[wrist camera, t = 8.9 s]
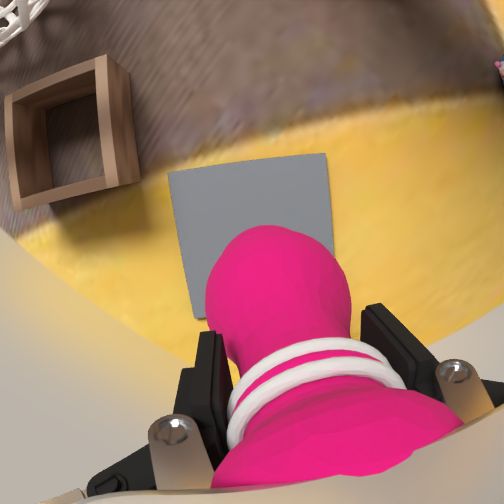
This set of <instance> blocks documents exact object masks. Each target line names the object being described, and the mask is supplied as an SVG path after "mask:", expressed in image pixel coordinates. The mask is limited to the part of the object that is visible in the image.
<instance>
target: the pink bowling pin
mask: <svg viewBox="0 0 504 504" xmlns="http://www.w3.org/2000/svg"><path fill="white" fill-rule="evenodd" d="M205 314H206V318H207V323H208V326H209V329H210V331H213V330H216V333H217V334H221V333H222V336H223V341H224V346H225V350H226V355H227V357H228V358H229V359H230V360H231V361H233V362H234V363H235V364H236V365H237V367H238V370H239V374H240V380H239V382H238V383H237V384H236V386H235V388H234V389H233V391H232V393H231V396H230V399H229V402H228V407H227V420H228V429H227V445H228V448H229V452H228V454H227V455H226V457H225V458H224V460H223V461H222V462H221V464H220V465H219V467H218V468H217V469H216V471H215V472H214V473H215V474H214V476H213V479H212V483H211V487H210V489H212V488H226V487H239V486H249V485H258V484H275V483H287V482H297V481H305V480H312V479H318V478H324V477H330V476H335V475H346V476H355V477H363V476H369V475H374V474H379V473H382V472H384V471H386V470H388V469H390V468H392V467H394V466H396V465H398V464H399V463H401V462H403V461H405V460H406V459H407V458H409V457H410V456H411V455H412V453H413V452H414V451H415V450H417V449H419V448H421V447H423V446H425V445H428V444H430V443H432V442H434V441H435V440H437V439H439V438H440V437H442V436H444V435H446V434H447V433H449V432H451V431H452V430H454V429H455V428H457V427H460V426H462V425H464V422H463V421H462V420H461V419H460V418H459V417H458V416H457V415H456V414H455V413H454V412H453V411H452V410H451V409H450V408H449V407H448V406H446V405H445V404H444V403H442V402H440V401H437V400H435V399H433V398H430V397H428V396H426V395H423V394H421V393H419V392H416V391H414V390H407V389H406V387H405V384H404V382H403V380H402V379H401V377H400V376H399V375H398V374H397V373H396V372H395V371H394V370H393V369H392V367H391V365H390V364H389V362H388V360H387V359H386V358H385V357H384V356H383V355H382V354H381V353H380V352H379V351H378V350H377V349H375V348H374V347H372V346H370V345H368V344H366V343H364V342H361V341H358V340H354V339H351V336H350V322H351V297H350V292H349V287H348V283H347V280H346V277H345V274H344V272H343V270H342V269H341V267H340V266H339V264H338V262H337V261H336V259H335V258H334V257H333V255H332V254H331V253H330V251H329V250H328V249H327V248H326V247H325V246H324V245H322V244H321V243H320V242H318V241H317V240H315V239H314V238H312V237H310V236H308V235H305V234H303V233H300V232H296V231H292V230H290V229H288V228H285V227H282V226H276V225H260V226H256V227H252V228H250V229H247V230H245V231H243V232H242V233H240V234H239V235H237V236H236V237H235V238H234V239H233V240H232V241H231V242H230V243H229V244H228V245H227V246H226V248H225V249H224V251H223V253H222V255H221V256H220V257H219V259H218V260H217V262H216V263H215V265H214V267H213V268H212V270H211V273H210V275H209V278H208V280H207V285H206V289H205Z"/></svg>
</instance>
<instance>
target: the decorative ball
mask: <svg viewBox="0 0 504 504" xmlns="http://www.w3.org/2000/svg"><path fill="white" fill-rule="evenodd" d="M49 1H50V0H29V1H28V0H13V1H12V2H11V3H10V4H9V5H8V6H7V7H6V8H3V7H1V6H0V19H1V18H3V17H4V18H6V19H7V20H8V21H9V26H8V27H2V28H0V32H1V33H0V47H2V46H4V45H5V44H7V43H8V42H9V41H10V39H11V38H13V37H15V36H16V35H18V34H19V33H20V32H22V31H25V30H26V29H27V28H28V26H29V25H30V24H31V23H32V22H33V21H34V20H35V18H36V17H37V16H38V15H39V14H40V13H41V12H42V11H43V9H44V8H45V7H46V5H47V4H48V3H49ZM16 6H18V12H19V16H18V17H16V15H15V14H14V13H12V12H11V11H12V10H13V9H14V8H15V7H16ZM19 26H21V27H20V28H19Z"/></svg>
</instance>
